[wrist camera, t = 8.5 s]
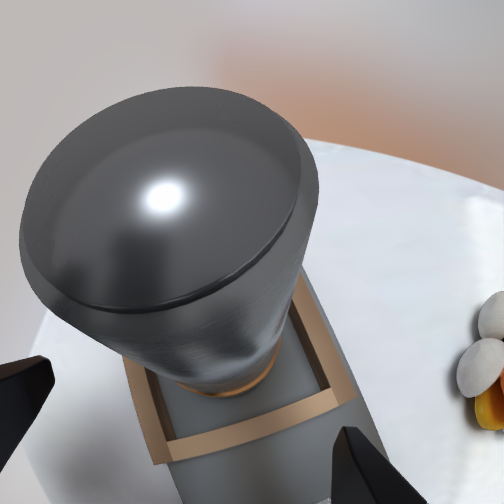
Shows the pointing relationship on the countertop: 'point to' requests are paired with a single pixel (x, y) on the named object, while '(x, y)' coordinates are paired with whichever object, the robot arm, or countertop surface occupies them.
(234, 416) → the picture frame
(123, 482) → the countertop surface
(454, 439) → the countertop surface
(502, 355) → the multicolored petal flower
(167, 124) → the grey metal cylinder
